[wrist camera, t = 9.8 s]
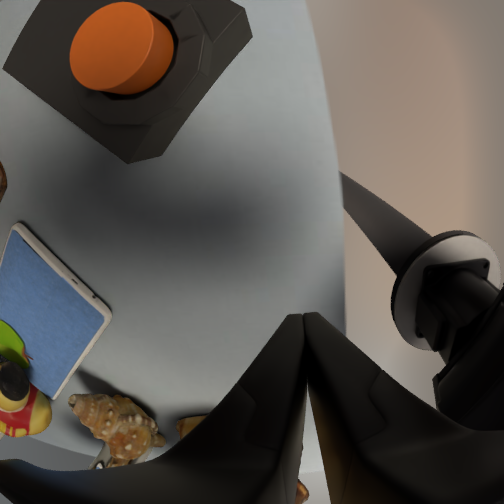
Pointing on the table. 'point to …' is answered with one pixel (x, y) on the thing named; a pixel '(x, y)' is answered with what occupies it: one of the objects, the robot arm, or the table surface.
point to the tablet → (47, 310)
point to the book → (2, 181)
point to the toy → (21, 403)
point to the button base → (140, 104)
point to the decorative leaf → (12, 346)
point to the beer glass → (115, 459)
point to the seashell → (117, 424)
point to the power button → (121, 49)
